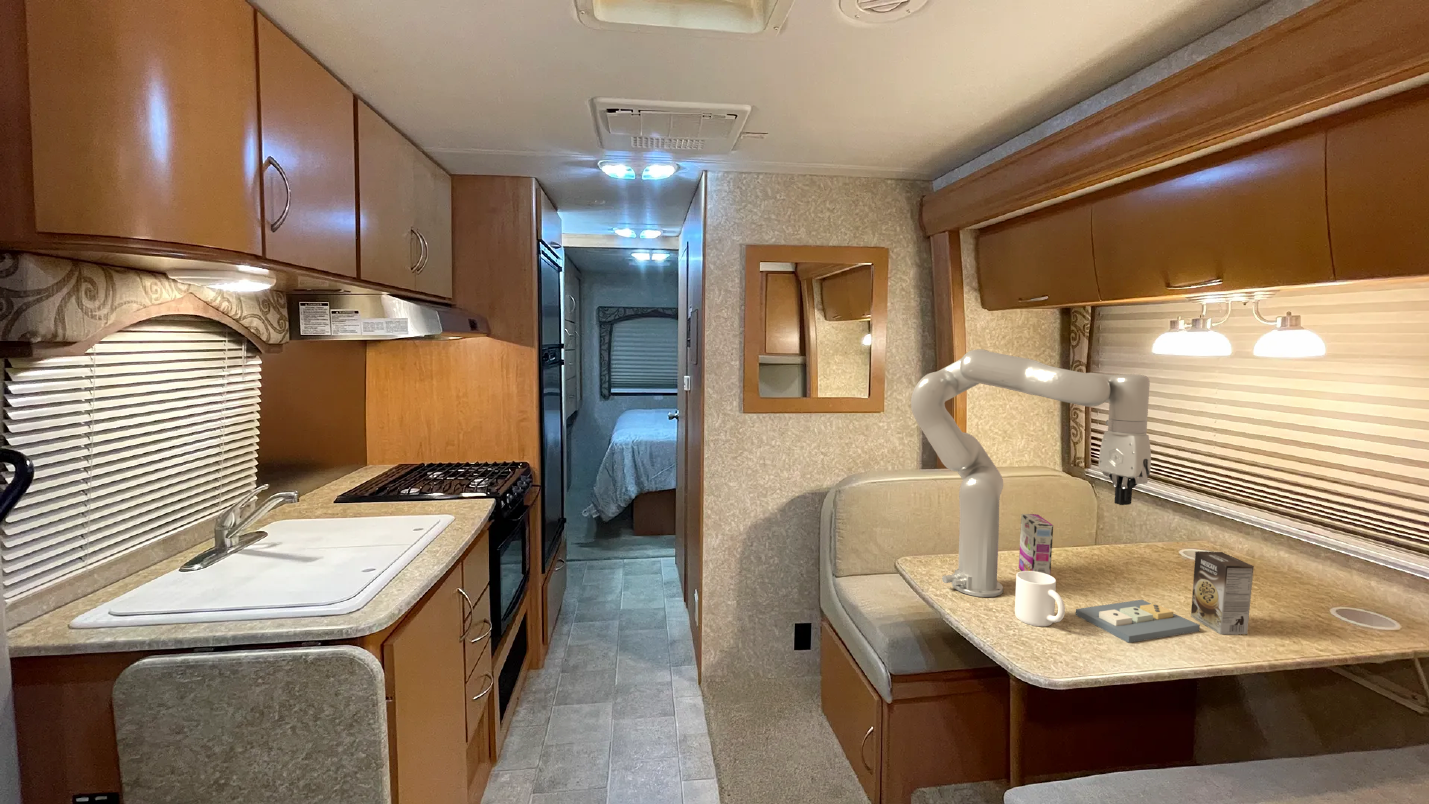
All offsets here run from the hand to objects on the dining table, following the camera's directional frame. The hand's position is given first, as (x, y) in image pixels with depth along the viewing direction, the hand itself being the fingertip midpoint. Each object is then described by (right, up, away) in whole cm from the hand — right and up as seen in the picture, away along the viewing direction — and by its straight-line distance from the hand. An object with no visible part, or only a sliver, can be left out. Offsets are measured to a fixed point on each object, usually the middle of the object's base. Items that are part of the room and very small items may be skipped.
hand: (1122, 503), depth 143 cm
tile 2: (+1, -27, -2) cm, 27 cm away
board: (+1, -27, -2) cm, 28 cm away
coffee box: (+19, -28, -4) cm, 34 cm away
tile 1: (-4, -27, -4) cm, 28 cm away
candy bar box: (-7, -25, +27) cm, 37 cm away
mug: (-20, -28, -2) cm, 34 cm away
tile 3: (+7, -27, -1) cm, 28 cm away
